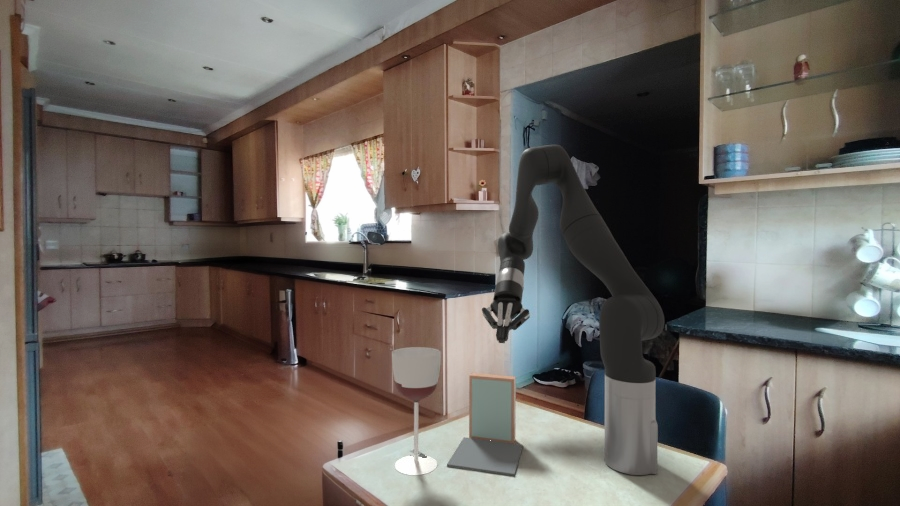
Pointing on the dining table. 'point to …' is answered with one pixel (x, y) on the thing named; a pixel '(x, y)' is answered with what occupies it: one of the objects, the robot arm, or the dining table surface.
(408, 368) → the wineglass
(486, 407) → the picture frame
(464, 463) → the mat
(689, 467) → the dining table surface
